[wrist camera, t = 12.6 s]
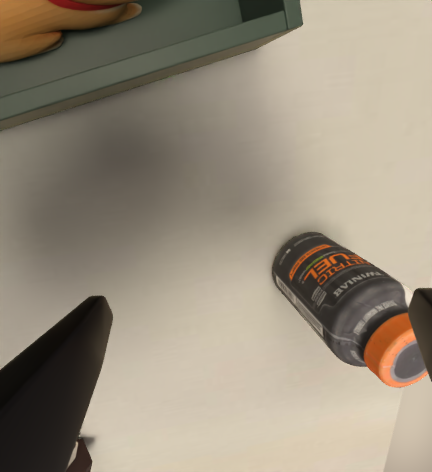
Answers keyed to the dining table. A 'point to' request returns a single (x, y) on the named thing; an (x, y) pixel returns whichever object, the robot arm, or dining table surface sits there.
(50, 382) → the robot arm
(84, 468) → the brown bracket with holes
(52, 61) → the green storage tray
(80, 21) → the toy
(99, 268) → the dining table surface
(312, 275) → the pill bottle
